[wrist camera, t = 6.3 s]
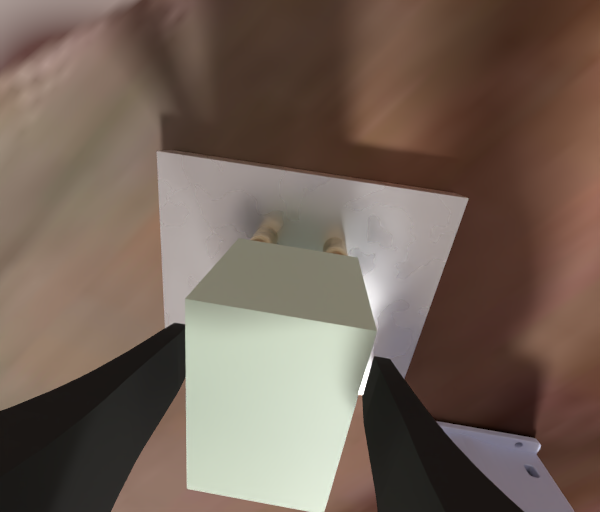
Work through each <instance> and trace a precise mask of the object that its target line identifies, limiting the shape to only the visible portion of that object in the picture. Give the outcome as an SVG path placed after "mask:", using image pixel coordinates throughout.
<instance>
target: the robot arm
mask: <svg viewBox="0 0 600 512" xmlns="http://www.w3.org/2000/svg"><path fill="white" fill-rule="evenodd" d="M185 377H186V351H185V324H181V323H173V324H171V325H170V326H168V327H166V328H165V329H163V330H162V331H160V332H158V333H157V334H155V335H154V336H152V337H150V338H149V339H147V340H146V341H144V342H142V343H141V344H139V345H137V346H136V347H134V348H133V349H131V350H129V351H128V352H126V353H124V354H122V355H121V356H119V357H117V358H115V359H113V360H112V361H110V362H108V363H106V364H105V365H103V366H101V367H99V368H97V369H96V370H94V371H92V372H90V373H88V374H86V375H84V376H82V377H80V378H78V379H76V380H73V381H71V382H69V383H67V384H65V385H63V386H61V387H59V388H56V389H54V390H52V391H49V392H47V393H45V394H42V395H40V396H37V397H35V398H32V399H30V400H28V401H25V402H23V403H20V404H18V405H15V406H13V407H10V408H8V409H5V410H2V411H0V512H111V510H112V508H113V506H114V504H115V501H116V499H117V497H118V495H119V493H120V491H121V489H122V487H123V485H124V483H125V481H126V480H127V478H128V476H129V474H130V472H131V470H132V468H133V466H134V464H135V462H136V460H137V458H138V457H139V455H140V453H141V451H142V450H143V448H144V446H145V445H146V443H147V441H148V440H149V438H150V437H151V435H152V433H153V432H154V430H155V429H156V427H157V425H158V424H159V422H160V421H161V419H162V417H163V416H164V414H165V413H166V411H167V409H168V408H169V406H170V404H171V403H172V401H173V399H174V398H175V396H176V395H177V393H178V391H179V389H180V387H181V385H182V383H183V381H184V379H185ZM362 398H363V418H364V427H365V433H366V439H367V445H368V451H369V457H370V463H371V469H372V475H373V480H374V486H375V493H376V500H377V508H378V512H574V510H573V509H572V507H571V506H570V504H569V503H568V501H567V500H566V498H565V497H564V495H563V493H562V492H561V490H560V489H559V487H558V486H557V484H556V483H555V481H554V480H553V478H552V477H551V475H550V474H549V472H548V471H547V469H546V468H545V466H544V465H543V463H542V462H541V460H540V459H539V457H538V456H537V452H538V451H539V449H540V447H541V445H540V443H539V442H538V440H537V439H535V438H532V437H526V436H520V435H514V434H509V433H503V432H497V431H491V430H486V429H480V428H474V427H468V426H462V425H457V424H451V423H445V422H439V421H435V420H434V418H433V417H432V416H431V415H430V413H429V412H428V411H427V410H426V408H425V407H424V406H423V404H422V403H421V402H420V400H419V399H418V398H417V396H416V395H415V394H414V392H413V391H412V389H411V388H410V387H409V385H408V384H407V382H406V381H405V379H404V378H403V377H402V375H401V374H400V372H399V371H398V369H397V368H396V367H395V365H394V364H393V362H392V361H391V359H389V358H383V357H377V356H374V358H373V361H372V365H371V368H370V371H369V375H368V378H367V382H366V385H365V388H364V392H363V395H362Z"/></svg>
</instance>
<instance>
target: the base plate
mask: <svg viewBox="0 0 600 512" xmlns="http://www.w3.org/2000/svg"><path fill="white" fill-rule="evenodd" d="M157 168H158V189H159V210H160V231H161V252H162V274H163V295H164V316H165V328H166V327H168V326H170V325H171V324H173V323H181V324H185V298H186V297H187V296H188V295H189V294H190V293H191V291H192V290H193V289H194V288H195V287H196V286H197V285H198V283H199V282H200V281H201V280H202V279H203V278H204V277H205V276H206V274H207V273H208V272H209V271H210V270H211V269H212V268H213V267H214V265H215V264H216V263H217V262H218V261H219V260H220V259H221V258H222V256H223V255H224V254H225V253H226V252H227V251H228V250H229V249H230V247H231V246H232V245H233V244H234V243H235V242H236V241H237V240H238V238H241V239H247V240H253V241H259V242H265V243H272V244H278V245H284V246H290V247H296V248H302V249H309V250H315V251H321V252H327V253H333V254H339V255H345V256H352V257H358V260H359V264H360V268H361V272H362V275H363V279H364V283H365V287H366V291H367V295H368V298H369V302H370V306H371V310H372V314H373V317H374V321H375V325H376V329H377V333H376V337H375V340H374V344H373V347H372V350H371V354H370V357H369V361H368V364H367V367H366V371H365V374H364V378H363V381H362V385H361V388H360V391H359V394H360V395H363V392H364V388H365V385H366V382H367V378H368V375H369V371H370V368H371V365H372V361H373V358H374V356H377V357H383V358H389V359H391V361H392V362H393V364H394V365H395V367H396V368H397V369H398V371H399V372H400V374H401V375H402V377H403V378H404V379H405V376H406V373H407V370H408V367H409V365H410V362H411V359H412V356H413V353H414V351H415V348H416V345H417V342H418V339H419V337H420V334H421V331H422V328H423V325H424V323H425V320H426V317H427V314H428V311H429V309H430V306H431V303H432V300H433V297H434V295H435V292H436V289H437V286H438V283H439V281H440V278H441V275H442V272H443V269H444V267H445V264H446V261H447V258H448V255H449V253H450V250H451V247H452V244H453V241H454V239H455V236H456V233H457V230H458V227H459V225H460V222H461V219H462V216H463V213H464V211H465V208H466V205H467V202H468V199H469V198H467V197H464V196H462V195H460V194H457V193H453V192H447V191H440V190H433V189H427V188H420V187H414V186H407V185H400V184H394V183H387V182H381V181H374V180H367V179H361V178H354V177H348V176H341V175H334V174H328V173H321V172H315V171H308V170H301V169H295V168H288V167H281V166H275V165H268V164H262V163H255V162H248V161H242V160H235V159H229V158H222V157H215V156H209V155H202V154H196V153H189V152H182V151H176V150H164V151H157Z"/></svg>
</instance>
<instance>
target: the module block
mask: <svg viewBox="0 0 600 512" xmlns="http://www.w3.org/2000/svg"><path fill="white" fill-rule="evenodd" d="M376 333H377V329H376V325H375V321H374V317H373V314H372V310H371V306H370V302H369V298H368V295H367V291H366V287H365V283H364V279H363V275H362V272H361V268H360V264H359V260H358V257H352V256H345V255H339V254H333V253H327V252H321V251H315V250H309V249H302V248H296V247H290V246H284V245H278V244H272V243H265V242H259V241H253V240H247V239H241V238H238V240H237V241H236V242H235V243H234V244H233V245H232V246H231V247H230V249H229V250H228V251H227V252H226V253H225V254H224V255H223V256H222V258H221V259H220V260H219V261H218V262H217V263H216V264H215V265H214V267H213V268H212V269H211V270H210V271H209V272H208V273H207V274H206V276H205V277H204V278H203V279H202V280H201V281H200V282H199V283H198V285H197V286H196V287H195V288H194V289H193V290H192V291H191V293H190V294H189V295H188V296H187V297H186V298H185V351H186V445H187V489H191V490H196V491H201V492H207V493H212V494H217V495H223V496H228V497H234V498H239V499H244V500H250V501H255V502H260V503H266V504H271V505H277V506H282V507H287V508H293V509H298V510H303V511H309V512H324V511H325V508H326V504H327V501H328V497H329V494H330V491H331V487H332V484H333V480H334V477H335V473H336V470H337V467H338V463H339V460H340V456H341V453H342V450H343V446H344V443H345V439H346V436H347V432H348V429H349V426H350V422H351V419H352V415H353V412H354V409H355V405H356V402H357V398H358V395H359V391H360V388H361V385H362V381H363V378H364V374H365V371H366V367H367V364H368V361H369V357H370V354H371V350H372V347H373V344H374V340H375V337H376Z"/></svg>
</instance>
